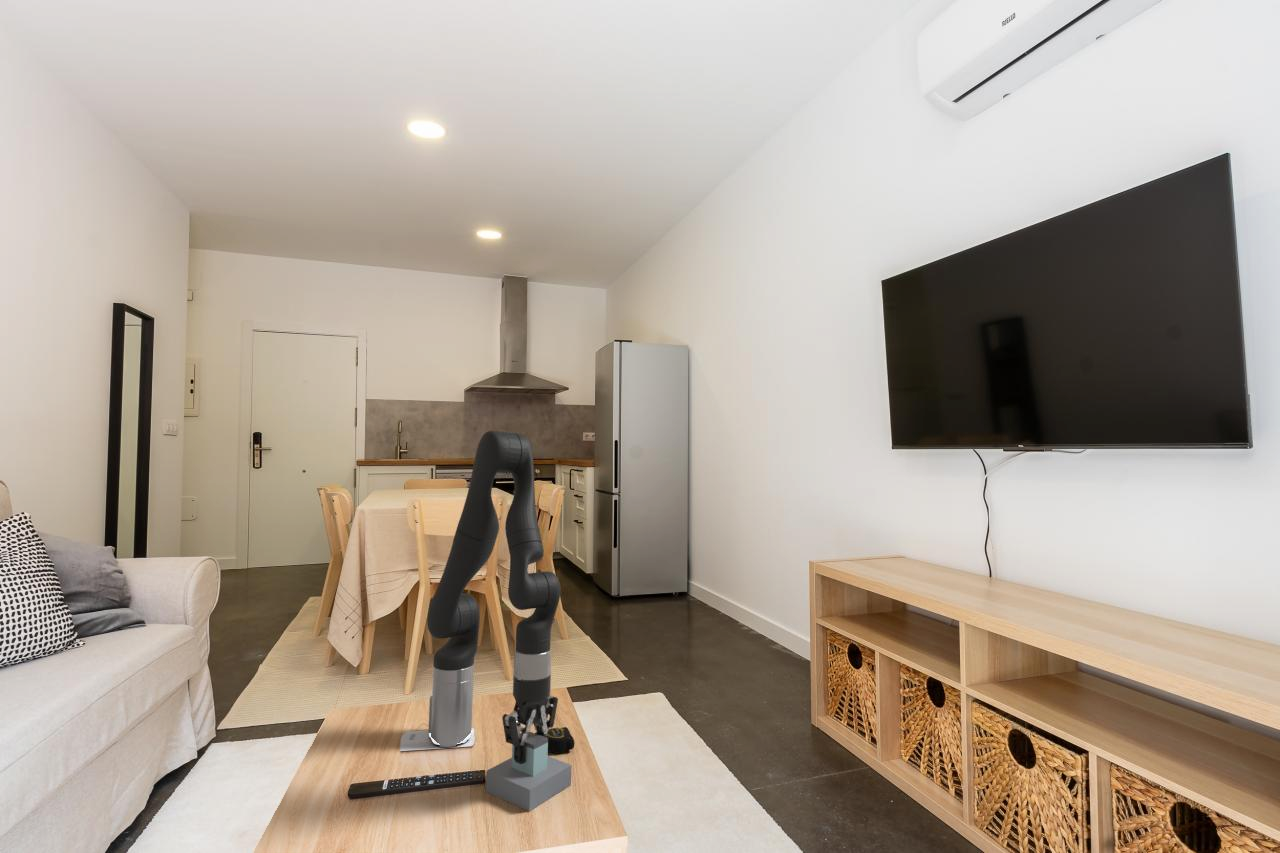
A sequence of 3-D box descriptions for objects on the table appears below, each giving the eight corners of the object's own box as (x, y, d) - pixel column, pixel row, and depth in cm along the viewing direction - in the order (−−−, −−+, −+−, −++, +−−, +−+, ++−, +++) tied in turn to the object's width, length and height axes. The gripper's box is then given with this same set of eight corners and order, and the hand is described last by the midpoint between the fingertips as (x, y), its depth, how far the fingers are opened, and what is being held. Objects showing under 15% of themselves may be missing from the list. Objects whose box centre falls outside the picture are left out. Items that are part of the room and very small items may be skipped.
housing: (511, 767, 128) (512, 737, 128) (525, 759, 131) (526, 730, 132) (533, 776, 125) (534, 745, 125) (547, 768, 128) (548, 738, 128)
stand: (485, 791, 126) (486, 770, 126) (528, 767, 136) (528, 748, 136) (529, 811, 119) (530, 789, 120) (570, 785, 129) (571, 765, 130)
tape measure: (574, 754, 143) (575, 737, 143) (544, 757, 141) (545, 740, 141) (569, 740, 150) (569, 724, 150) (539, 744, 147) (540, 727, 148)
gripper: (543, 659, 137) (540, 739, 136) (492, 677, 125) (489, 765, 124) (569, 666, 133) (567, 749, 132) (520, 686, 121) (517, 777, 120)
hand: (529, 756), depth 128 cm, fingers open, 5 cm apart
